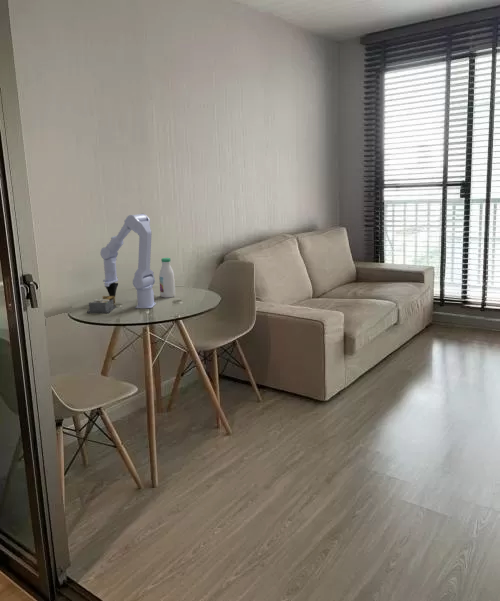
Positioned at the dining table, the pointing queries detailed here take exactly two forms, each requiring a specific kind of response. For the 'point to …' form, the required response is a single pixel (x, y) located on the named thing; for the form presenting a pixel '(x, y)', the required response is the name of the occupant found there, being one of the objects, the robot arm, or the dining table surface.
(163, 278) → the milk bottle
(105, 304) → the gauge frame
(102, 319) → the dining table surface
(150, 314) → the dining table surface
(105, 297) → the wooden t-shaped block
